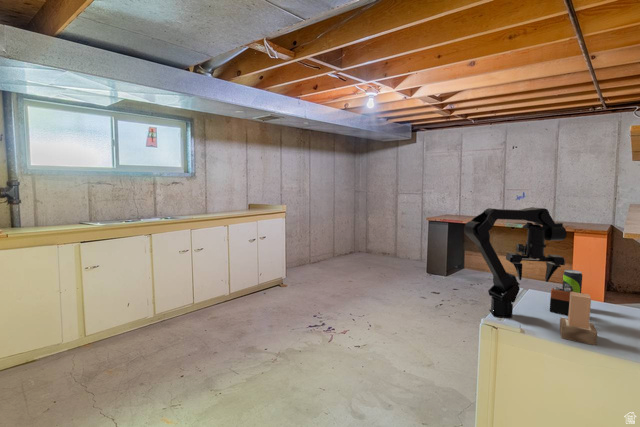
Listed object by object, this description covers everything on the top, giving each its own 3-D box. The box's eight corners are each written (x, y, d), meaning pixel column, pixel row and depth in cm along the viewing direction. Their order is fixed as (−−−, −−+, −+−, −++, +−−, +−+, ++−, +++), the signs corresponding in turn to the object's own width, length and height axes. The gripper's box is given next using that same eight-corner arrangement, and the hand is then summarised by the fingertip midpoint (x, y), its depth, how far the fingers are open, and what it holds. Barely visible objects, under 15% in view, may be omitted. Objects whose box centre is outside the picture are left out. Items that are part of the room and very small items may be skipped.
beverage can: (582, 310, 138) (585, 273, 136) (564, 308, 140) (567, 272, 138) (576, 305, 144) (579, 270, 142) (558, 303, 146) (561, 268, 144)
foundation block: (561, 338, 112) (562, 326, 112) (559, 328, 120) (560, 317, 120) (596, 345, 108) (597, 332, 107) (592, 334, 115) (593, 323, 115)
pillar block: (569, 325, 113) (571, 295, 112) (567, 320, 117) (570, 291, 116) (588, 329, 110) (591, 298, 109) (586, 323, 114) (588, 294, 113)
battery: (570, 316, 131) (572, 290, 130) (549, 311, 136) (551, 287, 135) (572, 313, 135) (574, 288, 134) (551, 309, 139) (553, 284, 138)
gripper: (553, 238, 137) (550, 276, 139) (502, 236, 141) (500, 273, 142) (567, 243, 126) (564, 284, 128) (511, 240, 130) (509, 281, 132)
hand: (533, 280), depth 133 cm, fingers open, 9 cm apart
